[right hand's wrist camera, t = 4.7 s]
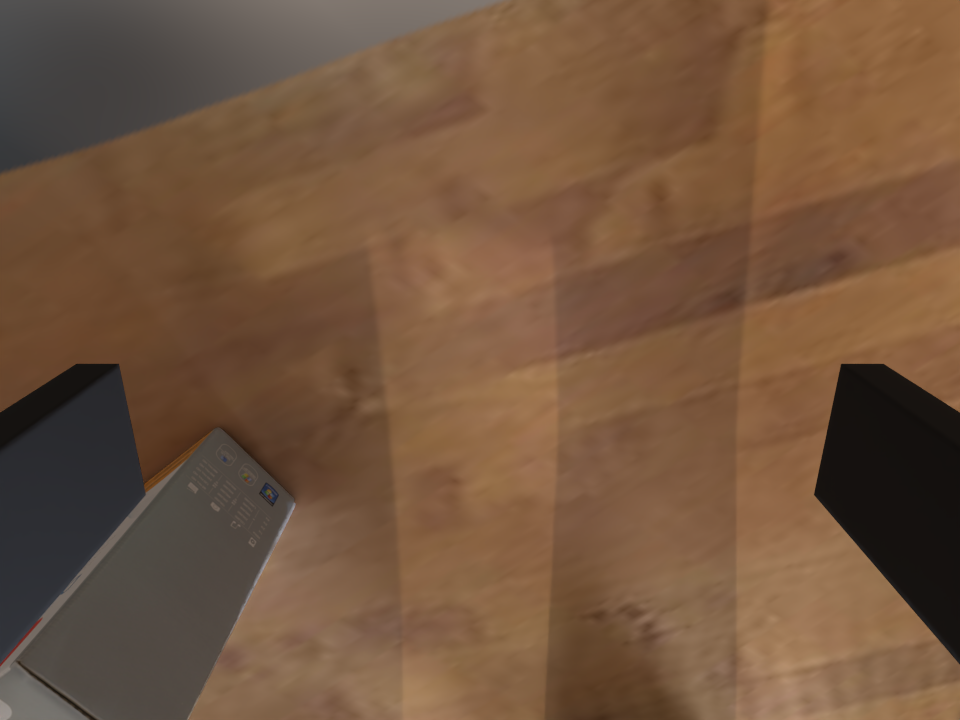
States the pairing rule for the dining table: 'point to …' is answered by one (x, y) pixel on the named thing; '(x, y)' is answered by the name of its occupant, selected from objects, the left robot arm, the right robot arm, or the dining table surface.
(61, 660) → the hard drive box
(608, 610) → the dining table surface
